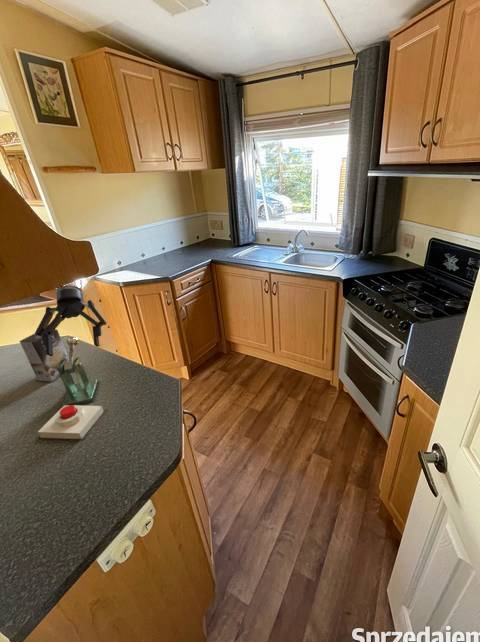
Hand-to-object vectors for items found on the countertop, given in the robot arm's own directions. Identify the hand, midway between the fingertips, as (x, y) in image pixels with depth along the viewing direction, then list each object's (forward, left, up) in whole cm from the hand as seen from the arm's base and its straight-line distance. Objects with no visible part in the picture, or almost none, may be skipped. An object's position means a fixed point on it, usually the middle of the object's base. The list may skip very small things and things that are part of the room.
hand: (73, 350), depth 95 cm
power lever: (+1, -1, -1) cm, 2 cm away
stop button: (+9, -18, -9) cm, 22 cm away
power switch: (+3, -6, -13) cm, 15 cm away
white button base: (+9, -18, -13) cm, 24 cm away
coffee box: (-15, +5, -13) cm, 21 cm away
